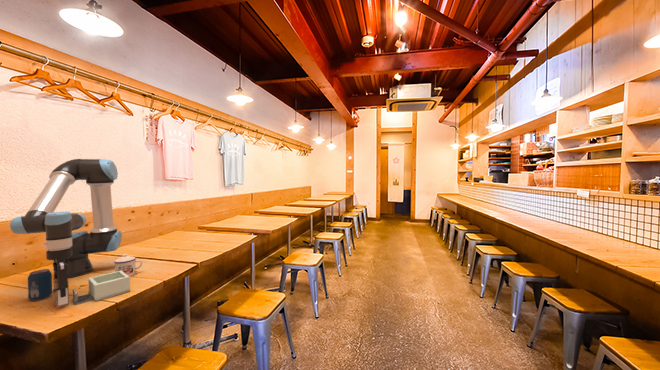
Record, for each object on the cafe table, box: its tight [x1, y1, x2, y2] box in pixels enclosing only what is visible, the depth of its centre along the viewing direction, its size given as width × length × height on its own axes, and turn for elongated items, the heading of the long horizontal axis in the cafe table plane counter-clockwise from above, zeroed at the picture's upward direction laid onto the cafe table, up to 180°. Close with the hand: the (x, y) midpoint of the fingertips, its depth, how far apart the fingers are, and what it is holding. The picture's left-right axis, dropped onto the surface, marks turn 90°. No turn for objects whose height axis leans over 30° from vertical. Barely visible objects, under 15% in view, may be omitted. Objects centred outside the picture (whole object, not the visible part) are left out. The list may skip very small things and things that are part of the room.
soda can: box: [27, 268, 53, 302], centre depth 111 cm, size 7×7×12 cm
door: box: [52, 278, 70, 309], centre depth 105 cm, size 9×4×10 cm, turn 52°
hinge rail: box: [71, 288, 94, 306], centre depth 109 cm, size 8×6×5 cm
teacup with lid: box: [113, 253, 143, 278], centre depth 137 cm, size 12×9×12 cm
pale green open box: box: [87, 271, 131, 302], centre depth 116 cm, size 14×12×7 cm
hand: (61, 300), depth 106 cm, fingers open, 10 cm apart
